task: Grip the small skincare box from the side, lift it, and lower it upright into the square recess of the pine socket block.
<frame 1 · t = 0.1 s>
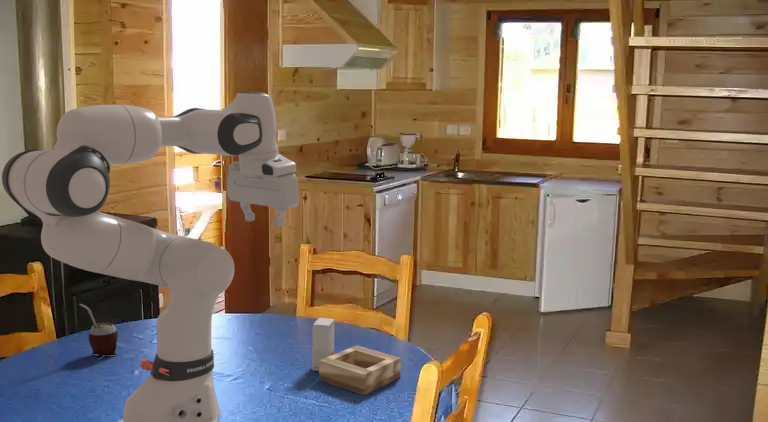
hand: (264, 223, 174), 39 cm above the table, tool pointing down, fingers open, 8 cm apart
skincare box: (323, 367, 191), on the table
mate gourd: (102, 356, 197), on the table
socket block: (360, 378, 184), on the table
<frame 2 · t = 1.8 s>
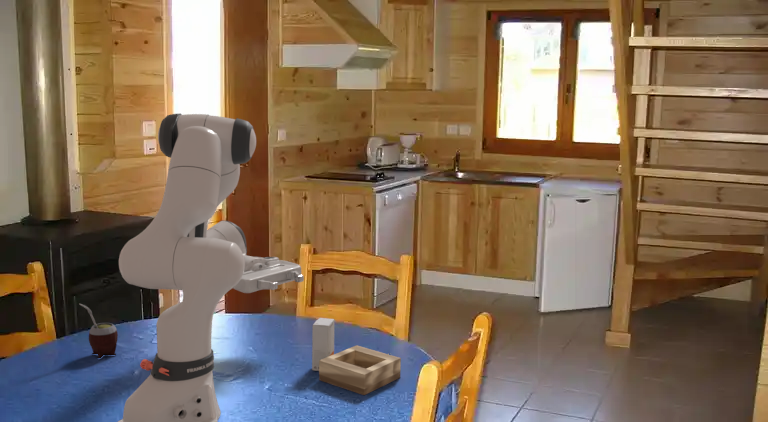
hand: (288, 282, 196), 20 cm above the table, tool horizontal, fingers open, 8 cm apart
nothing on the table moved.
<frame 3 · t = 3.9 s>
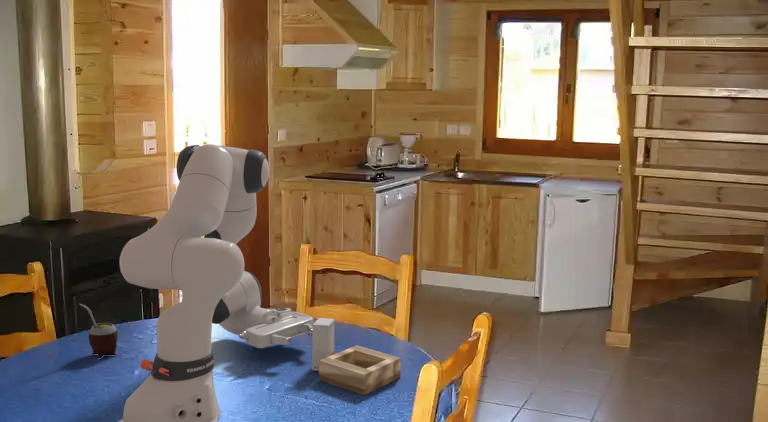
hand: (302, 336, 195), 6 cm above the table, tool horizontal, fingers open, 8 cm apart
nothing on the table moved.
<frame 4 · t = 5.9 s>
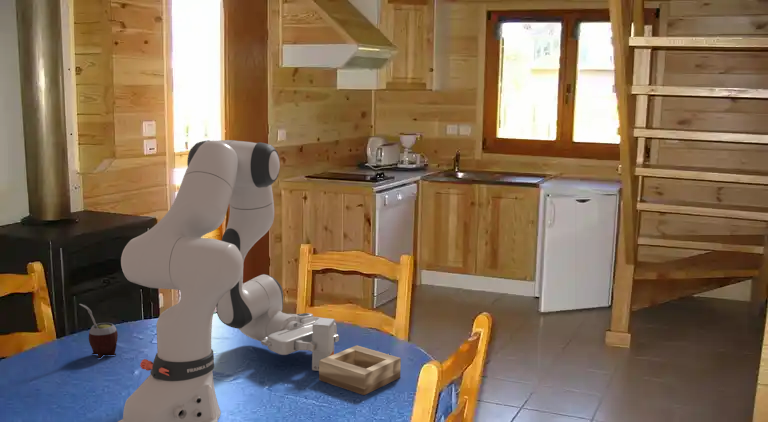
hand: (326, 343, 190), 7 cm above the table, tool horizontal, fingers closed on skincare box, 7 cm apart
skincare box: (323, 367, 191), on the table, touching gripper
everything else where it was.
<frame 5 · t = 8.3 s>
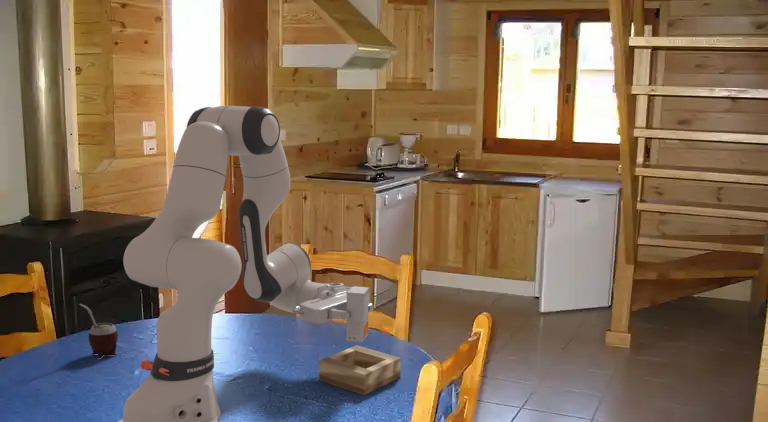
hand: (360, 311, 182), 17 cm above the table, tool horizontal, fingers closed on skincare box, 7 cm apart
skincare box: (357, 338, 183), point 10 cm above the table, touching gripper
everything else where it was.
when the fingers open (9 cm above the table, at t = 10.8 s): skincare box drops 1 cm, resting on socket block.
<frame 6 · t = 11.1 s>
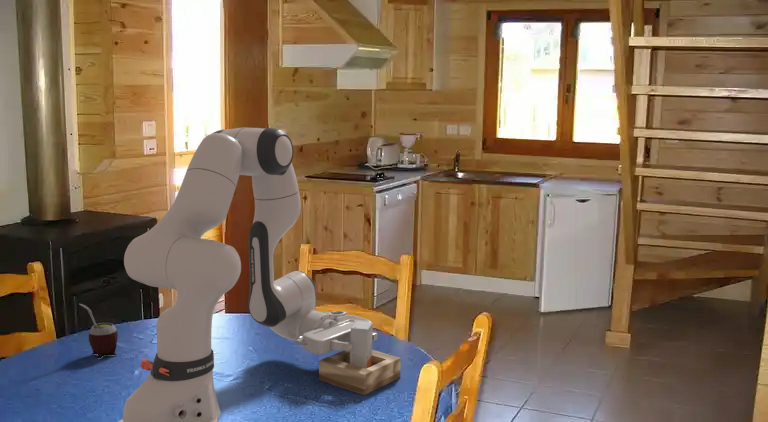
hand: (363, 342, 182), 9 cm above the table, tool horizontal, fingers open, 8 cm apart
skincare box: (361, 373, 184), point 1 cm above the table, touching socket block
everything else where it was.
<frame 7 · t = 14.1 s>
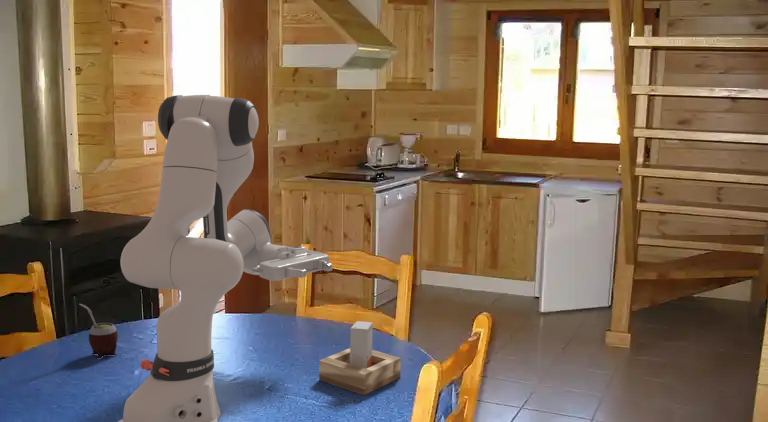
hand: (317, 270, 188), 25 cm above the table, tool horizontal, fingers open, 8 cm apart
nothing on the table moved.
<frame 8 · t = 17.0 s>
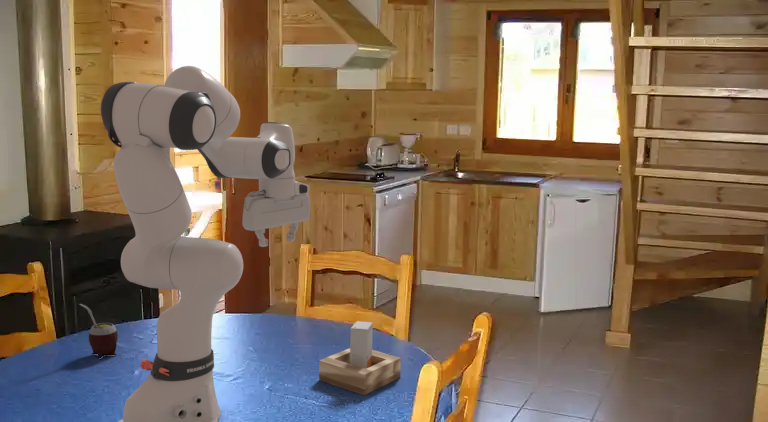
hand: (277, 243, 189), 31 cm above the table, tool pointing down, fingers open, 8 cm apart
nothing on the table moved.
at the end: skincare box inside the target area on the socket block (0.4 cm from its centre), point 1.3 cm above the socket block's base; skincare box tilted 0°; the gripper is holding nothing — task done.
